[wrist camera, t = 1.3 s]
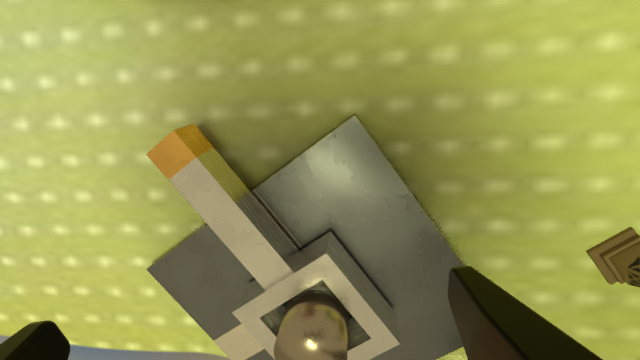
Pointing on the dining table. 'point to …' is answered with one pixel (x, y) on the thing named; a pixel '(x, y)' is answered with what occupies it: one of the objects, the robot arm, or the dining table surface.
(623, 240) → the eiffel tower
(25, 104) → the dining table surface
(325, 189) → the post base
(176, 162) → the square nut with handle
